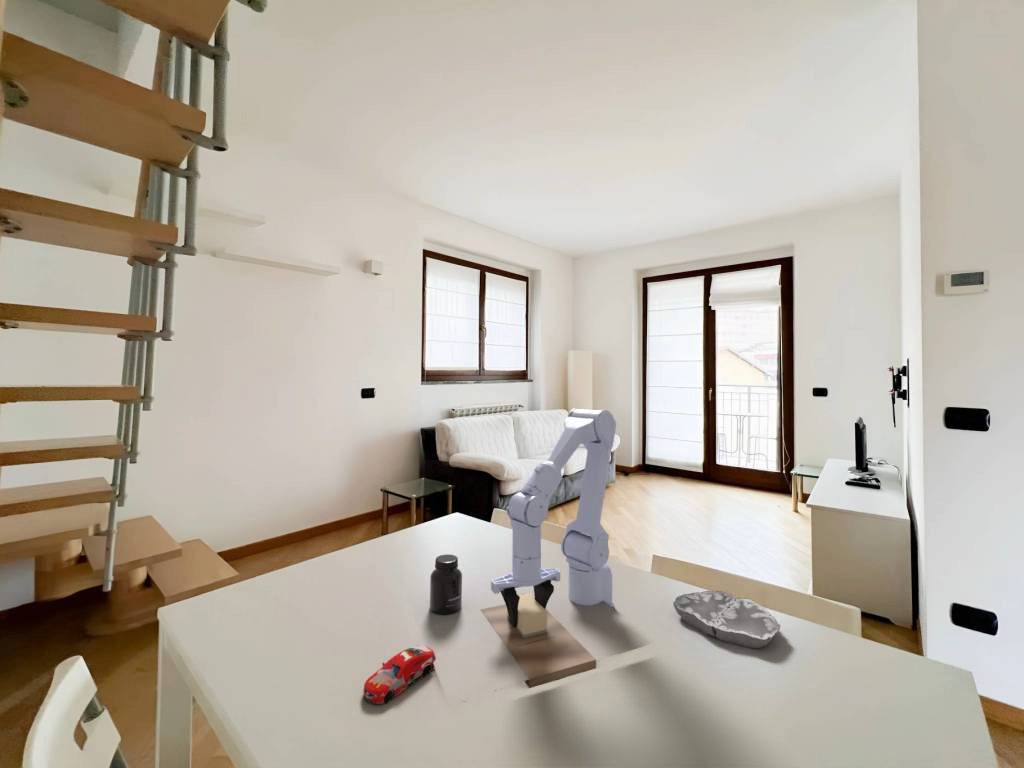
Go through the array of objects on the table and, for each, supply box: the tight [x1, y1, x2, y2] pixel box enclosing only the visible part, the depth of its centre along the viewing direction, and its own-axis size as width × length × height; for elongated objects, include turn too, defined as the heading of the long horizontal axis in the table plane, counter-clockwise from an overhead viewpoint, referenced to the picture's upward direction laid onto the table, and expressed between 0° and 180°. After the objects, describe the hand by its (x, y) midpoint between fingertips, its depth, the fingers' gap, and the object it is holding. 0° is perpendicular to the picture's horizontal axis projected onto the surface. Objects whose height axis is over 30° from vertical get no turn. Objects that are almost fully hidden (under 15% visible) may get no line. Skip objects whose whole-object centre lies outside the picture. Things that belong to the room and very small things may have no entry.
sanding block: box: [507, 593, 548, 638], centre depth 88 cm, size 5×8×4 cm, turn 24°
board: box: [480, 597, 597, 689], centre depth 86 cm, size 24×13×2 cm, turn 24°
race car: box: [363, 644, 436, 705], centre depth 74 cm, size 13×5×4 cm, turn 142°
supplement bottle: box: [429, 554, 463, 616], centre depth 95 cm, size 7×7×12 cm
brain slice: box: [673, 590, 781, 649], centre depth 92 cm, size 20×17×3 cm
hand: (526, 621), depth 88 cm, fingers closed on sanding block, 5 cm apart
